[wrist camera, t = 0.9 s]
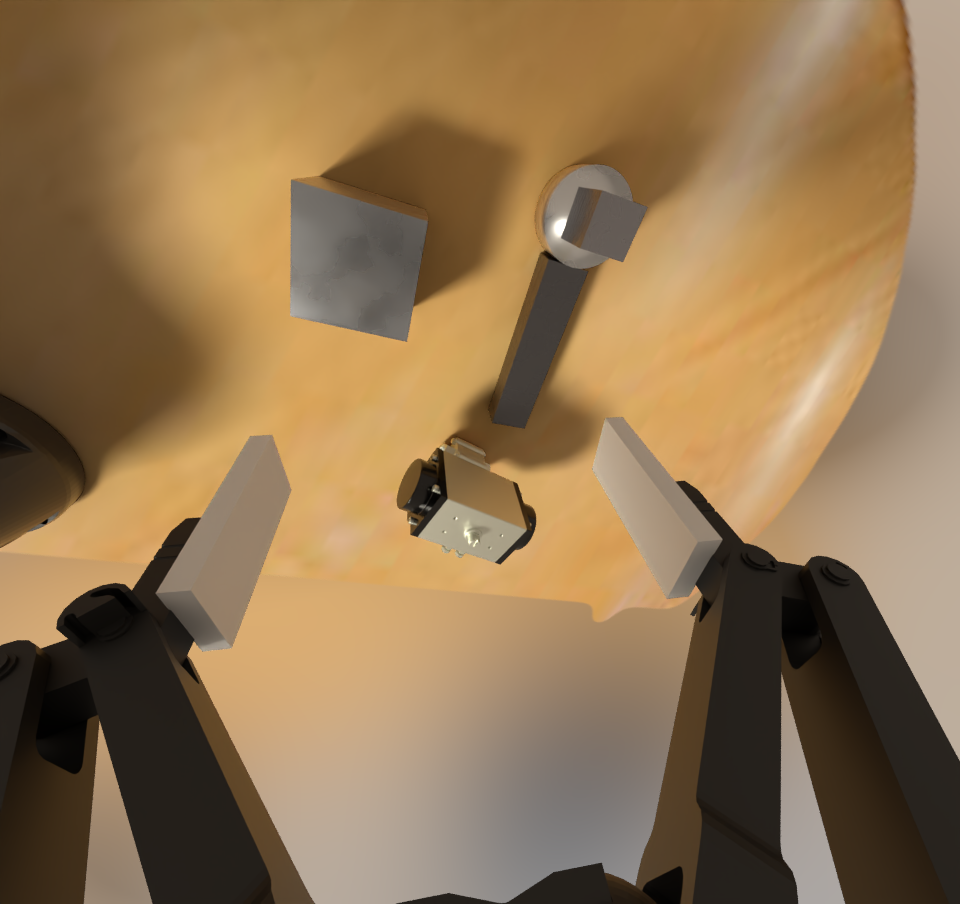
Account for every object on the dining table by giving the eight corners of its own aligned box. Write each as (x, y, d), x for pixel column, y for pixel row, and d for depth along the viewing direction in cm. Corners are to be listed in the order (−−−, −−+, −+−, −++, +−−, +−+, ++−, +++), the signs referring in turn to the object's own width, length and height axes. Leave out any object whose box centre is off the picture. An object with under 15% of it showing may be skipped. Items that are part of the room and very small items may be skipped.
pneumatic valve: (422, 412, 36) (423, 500, 27) (519, 459, 41) (549, 547, 32) (395, 453, 39) (387, 547, 29) (489, 493, 44) (509, 585, 34)
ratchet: (474, 406, 37) (484, 450, 31) (553, 151, 26) (590, 147, 20) (532, 417, 38) (551, 460, 33) (629, 180, 27) (683, 185, 22)
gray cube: (314, 286, 29) (290, 316, 23) (318, 175, 25) (290, 179, 20) (408, 309, 31) (406, 341, 25) (426, 209, 27) (428, 221, 21)
